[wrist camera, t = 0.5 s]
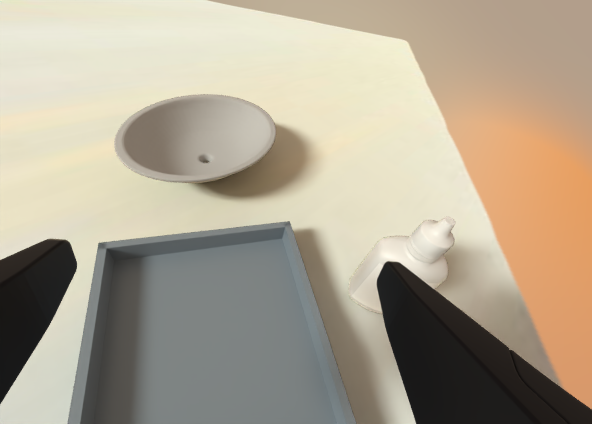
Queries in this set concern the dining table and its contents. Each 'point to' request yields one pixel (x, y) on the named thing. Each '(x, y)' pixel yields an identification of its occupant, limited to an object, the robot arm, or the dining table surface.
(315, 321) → the slate tray
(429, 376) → the robot arm
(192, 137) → the dish
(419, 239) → the eye dropper bottle
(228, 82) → the dining table surface
